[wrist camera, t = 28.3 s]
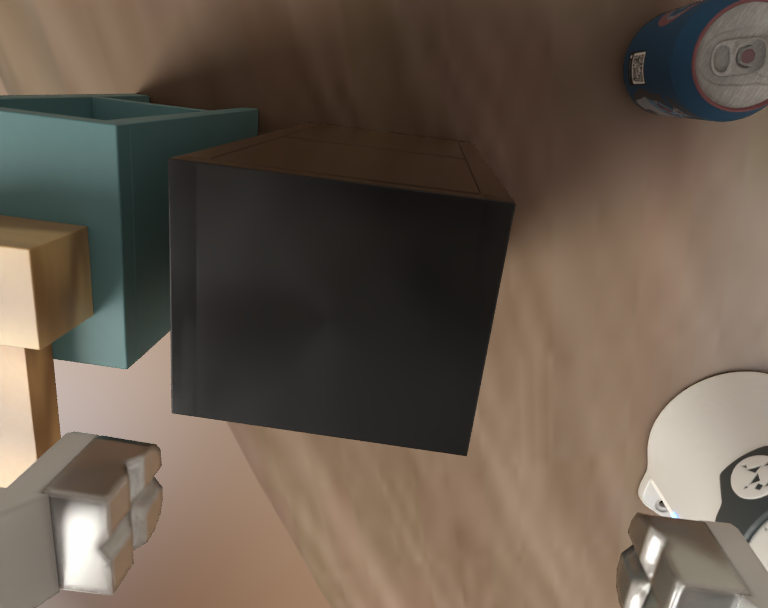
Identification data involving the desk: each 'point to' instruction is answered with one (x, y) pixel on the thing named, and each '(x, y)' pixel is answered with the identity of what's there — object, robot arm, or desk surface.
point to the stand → (108, 200)
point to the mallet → (36, 330)
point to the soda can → (702, 61)
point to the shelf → (336, 283)
